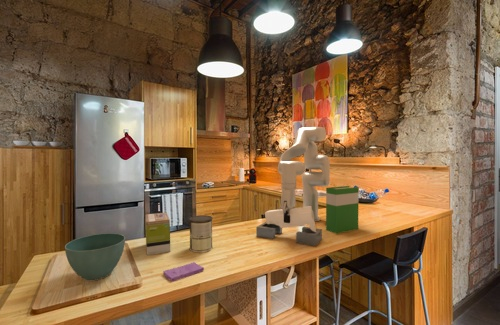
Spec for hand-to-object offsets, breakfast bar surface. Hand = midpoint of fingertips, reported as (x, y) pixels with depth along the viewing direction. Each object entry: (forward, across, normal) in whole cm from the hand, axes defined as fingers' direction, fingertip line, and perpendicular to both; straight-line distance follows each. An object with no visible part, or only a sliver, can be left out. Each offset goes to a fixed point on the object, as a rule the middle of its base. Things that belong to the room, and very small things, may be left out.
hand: (288, 221), depth 132 cm
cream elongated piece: (+4, 0, 0) cm, 4 cm away
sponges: (+9, +55, -20) cm, 60 cm away
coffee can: (+8, +34, -30) cm, 46 cm away
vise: (+9, 0, 0) cm, 9 cm away
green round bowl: (+8, +72, -46) cm, 85 cm away
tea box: (+8, +42, -48) cm, 65 cm away
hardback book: (+9, -28, +22) cm, 36 cm away
